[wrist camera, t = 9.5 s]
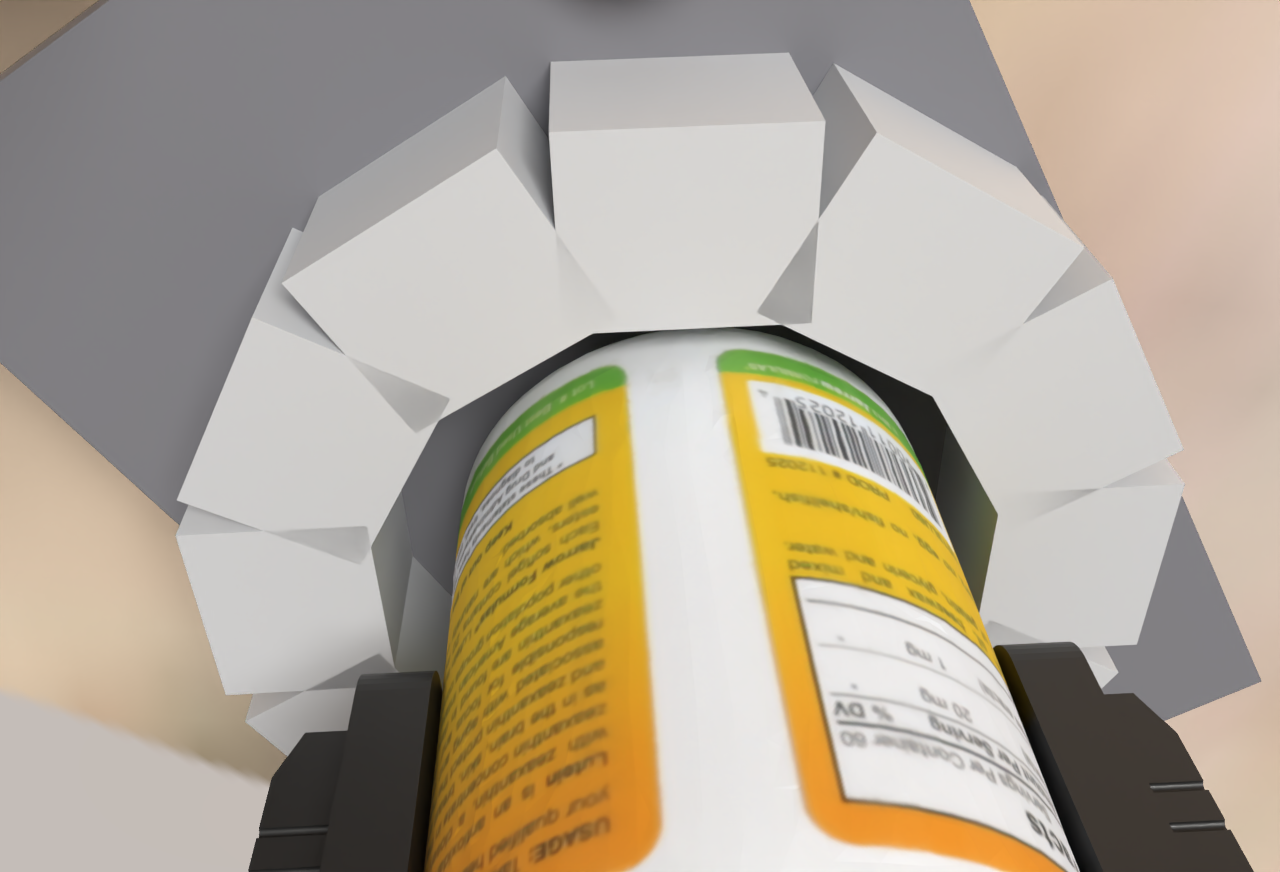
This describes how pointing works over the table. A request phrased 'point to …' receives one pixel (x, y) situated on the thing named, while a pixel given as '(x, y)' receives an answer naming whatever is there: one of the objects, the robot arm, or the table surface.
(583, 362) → the supplement bottle
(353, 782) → the robot arm
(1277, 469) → the table surface
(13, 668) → the table surface
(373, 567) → the camera body
